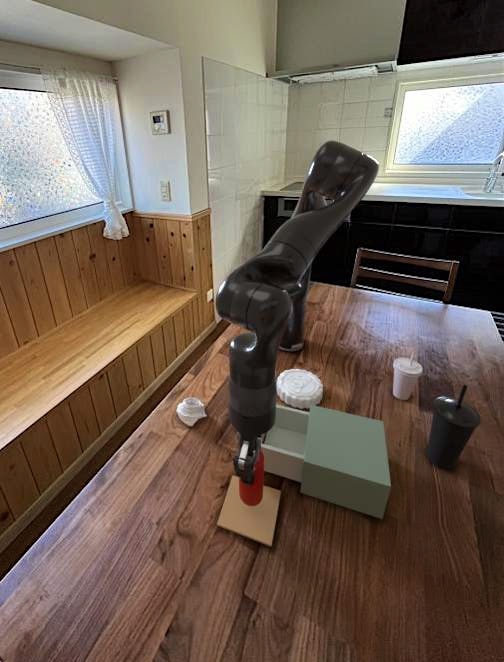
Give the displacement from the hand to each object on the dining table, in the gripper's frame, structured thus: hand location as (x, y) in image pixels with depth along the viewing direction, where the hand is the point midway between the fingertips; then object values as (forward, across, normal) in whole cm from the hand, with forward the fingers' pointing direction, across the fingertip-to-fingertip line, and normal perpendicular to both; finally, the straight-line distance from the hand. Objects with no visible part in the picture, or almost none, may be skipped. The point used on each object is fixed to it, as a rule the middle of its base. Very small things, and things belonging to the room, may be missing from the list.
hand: (251, 469), depth 60 cm
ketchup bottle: (+7, 0, 0) cm, 7 cm away
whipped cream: (+11, -17, -20) cm, 29 cm away
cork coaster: (+11, 0, 0) cm, 11 cm away
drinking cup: (+11, -23, +36) cm, 44 cm away
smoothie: (+11, -41, +30) cm, 52 cm away
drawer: (+10, -14, +3) cm, 17 cm away
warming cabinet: (+11, -14, +16) cm, 24 cm away
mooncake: (+11, -34, +5) cm, 36 cm away
